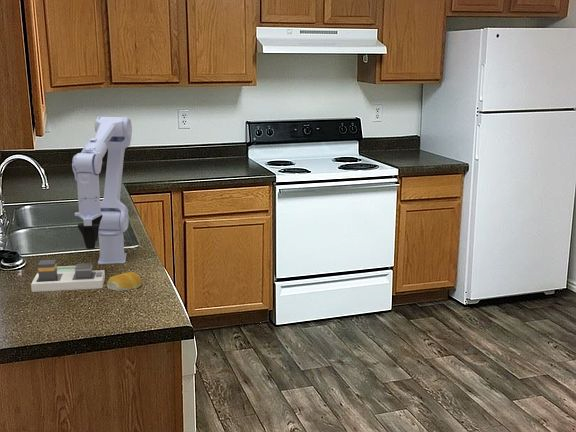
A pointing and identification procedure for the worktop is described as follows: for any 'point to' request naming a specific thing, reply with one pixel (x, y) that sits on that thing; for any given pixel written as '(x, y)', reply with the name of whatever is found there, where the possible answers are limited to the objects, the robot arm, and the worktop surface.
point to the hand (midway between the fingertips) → (91, 244)
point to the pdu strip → (72, 280)
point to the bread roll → (124, 282)
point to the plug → (47, 270)
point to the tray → (66, 268)
